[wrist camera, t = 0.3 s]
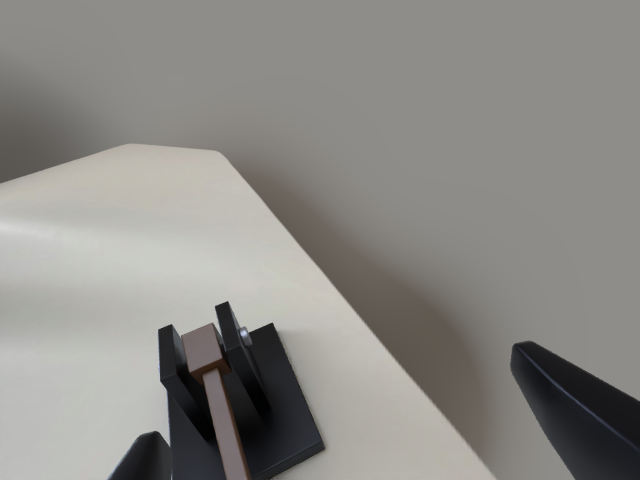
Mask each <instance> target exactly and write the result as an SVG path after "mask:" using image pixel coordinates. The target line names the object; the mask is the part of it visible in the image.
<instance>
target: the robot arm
mask: <svg viewBox="0 0 640 480" xmlns="http://www.w3.org/2000/svg"><path fill="white" fill-rule="evenodd" d="M510 367H511V372H512V374H513V376H514V378H515V380H516V382H517V384H518V385H519V387H520V389H521V391H522V393H523V395H524V396H525V398H526V400H527V402H528V404H529V406H530V408H531V409H532V411H533V413H534V415H535V417H536V419H537V421H538V422H539V424H540V426H541V428H542V430H543V431H544V433H545V435H546V436H547V438H548V440H549V441H550V443H551V444H552V446H553V447H554V449H555V450H556V451H557V453H558V455H559V456H560V457H561V459H562V460H563V462H564V464H565V465H566V467H567V468H568V469H569V471H570V472H571V474H572V475H573V477H574V478H575V480H640V401H638V400H637V399H635V398H633V397H631V396H630V395H628V394H626V393H624V392H622V391H621V390H619V389H617V388H615V387H613V386H612V385H610V384H608V383H606V382H604V381H603V380H601V379H599V378H597V377H595V376H594V375H592V374H590V373H588V372H587V371H585V370H583V369H581V368H579V367H578V366H576V365H574V364H572V363H570V362H569V361H567V360H565V359H563V358H561V357H560V356H558V355H556V354H554V353H552V352H551V351H549V350H547V349H545V348H544V347H542V346H540V345H538V344H536V343H534V342H532V341H524V342H519V343H516V344H514V345H513V347H512V355H511V364H510ZM171 473H172V451H171V449H170V447H169V445H168V444H167V443H166V441H165V440H164V438H163V437H162V436H161V434H160V433H159V432H157V431H153V432H149V433H145V434H142V435H140V436H139V437H138V438H137V439H136V440H135V442H134V443H133V444H132V446H131V447H130V448H129V450H128V451H127V453H126V454H125V455H124V457H123V458H122V459H121V461H120V462H119V463H118V465H117V466H116V467H115V469H114V470H113V472H112V473H111V474H110V476H109V477H108V478H107V480H171Z"/></svg>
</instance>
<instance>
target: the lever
mask: <svg viewBox="0 0 640 480" xmlns="http://www.w3.org/2000/svg"><path fill="white" fill-rule="evenodd" d="M181 338H182V343H183V347H184V352H185V357H186V361H187V366H188V371H189V373H190V374H191V375H192V376H193V377H194V379H195V380H196V381H197V382H198V383H199V384H200V385H204V387H205V391H206V395H207V399H208V403H209V408H210V412H211V416H212V420H213V424H214V429H215V433H216V437H217V441H218V445H219V450H220V454H221V458H222V462H223V466H224V471H225V475H226V479H227V480H252V479H251V476H250V472H249V469H248V465H247V461H246V458H245V454H244V450H243V447H242V443H241V440H240V436H239V432H238V429H237V425H236V422H235V418H234V414H233V411H232V407H231V403H230V400H229V396H228V393H227V389H226V385H225V382H224V378H223V375H226V374H228V373H230V372H232V369H231V366H230V362H229V359H228V356H227V354H226V352H225V347H224V343H223V339H222V337H221V335H220V333H219V332H218V330H217V329H216V327H215V326H214V324H213V323H210V324H208V325H206V326H203V327H201V328H198V329H196V330H194V331H191V332H189V333H187V334H184V335H182V336H181Z"/></svg>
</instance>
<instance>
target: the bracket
mask: <svg viewBox="0 0 640 480" xmlns="http://www.w3.org/2000/svg"><path fill="white" fill-rule="evenodd" d="M215 310H216V315H217V319H218V323H219V327H220V331H221V335H222V339H223V343H224V347H225V352H226V354H227V356H228V359H229V362H230V366H231V369H232V372H230V373H228V374H226V375H223V378H224V382H225V385H226V389H227V393H228V396H229V400H230V403H231V407H232V411H233V414H234V418H235V422H236V425H237V429H238V432H239V436H240V440H241V443H242V447H243V450H244V454H245V458H246V461H247V465H248V469H249V472H250V476H251V479H252V480H268V479H270V478H271V477H273V476H275V475H277V474H279V473H281V472H283V471H284V470H286V469H288V468H290V467H292V466H294V465H296V464H298V463H299V462H301V461H303V460H305V459H307V458H309V457H311V456H312V455H314V454H316V453H318V452H320V451H322V450H324V449H325V447H324V444H323V441H322V439H321V436H320V434H319V431H318V429H317V427H316V424H315V422H314V420H313V417H312V415H311V412H310V410H309V408H308V405H307V403H306V401H305V398H304V396H303V393H302V391H301V389H300V386H299V384H298V381H297V379H296V377H295V374H294V372H293V370H292V367H291V365H290V362H289V360H288V358H287V355H286V353H285V351H284V348H283V346H282V343H281V341H280V339H279V336H278V334H277V331H276V329H275V327H274V324H273V323H270V324H268V325H266V326H263V327H261V328H259V329H256V330H254V331H252V332H249V333H248V331H247V328H246V327H245V326H244V327H242V328H240V326H239V324H238V322H237V319H236V317H235V315H234V313H233V311H232V308H231V306H230V304H229V302H228V301H227V302H224V303H222V304H219V305H217V306H215ZM158 349H159V365H158V369H159V374H160V381H161V383H162V384H163V385H164V387H165V388H166V389H167V404H168V421H169V437H170V449H171V451H172V480H227V479H226V475H225V471H224V466H223V462H222V458H221V454H220V450H219V445H218V441H217V437H216V433H215V429H214V424H213V420H212V416H211V412H210V408H209V403H208V399H207V395H206V391H205V387H204V385H200V384H199V383H198V382H197V381H196V380H195V379H194V377H193V376H192V375H191V374H190V373H189V371H188V366H187V361H186V357H185V352H184V347H183V343H182V339H181V338H180V336H179V335H178V333H177V331H176V330H175V328H174V327H173V325H172V324H171V325H168V326H166V327H163V328H161V329H158Z"/></svg>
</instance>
